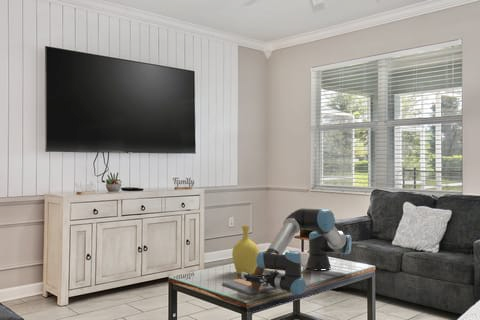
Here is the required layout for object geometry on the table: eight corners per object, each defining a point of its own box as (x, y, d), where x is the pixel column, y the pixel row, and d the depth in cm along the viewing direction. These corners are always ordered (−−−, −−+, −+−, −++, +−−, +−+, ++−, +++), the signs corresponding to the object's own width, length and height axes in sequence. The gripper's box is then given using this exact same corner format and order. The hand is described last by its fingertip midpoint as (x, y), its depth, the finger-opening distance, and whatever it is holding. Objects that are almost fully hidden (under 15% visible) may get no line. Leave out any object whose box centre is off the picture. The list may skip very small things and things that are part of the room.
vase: (227, 274, 270) (227, 227, 270) (240, 268, 284) (240, 223, 284) (251, 277, 262) (251, 228, 263) (263, 271, 276) (263, 225, 277)
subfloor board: (248, 279, 256) (248, 277, 256) (276, 288, 237) (276, 286, 237) (222, 284, 246) (222, 282, 246) (249, 294, 226) (249, 291, 226)
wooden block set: (259, 296, 227) (266, 278, 225) (243, 287, 229) (251, 269, 228) (268, 285, 244) (275, 268, 242) (254, 278, 246) (261, 261, 245)
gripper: (259, 292, 215) (233, 283, 232) (297, 284, 230) (270, 276, 247) (259, 276, 215) (233, 268, 232) (297, 269, 230) (270, 262, 247)
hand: (252, 272), depth 239 cm, fingers open, 13 cm apart
